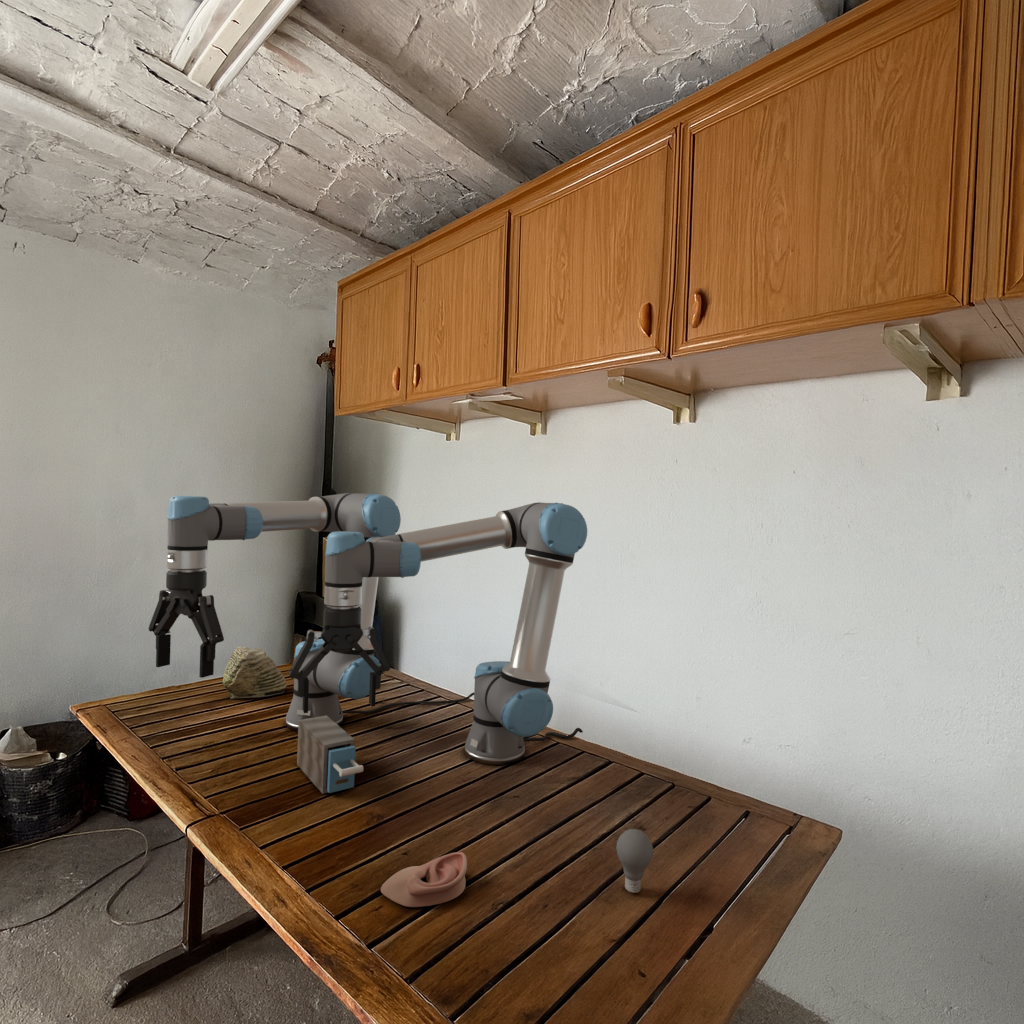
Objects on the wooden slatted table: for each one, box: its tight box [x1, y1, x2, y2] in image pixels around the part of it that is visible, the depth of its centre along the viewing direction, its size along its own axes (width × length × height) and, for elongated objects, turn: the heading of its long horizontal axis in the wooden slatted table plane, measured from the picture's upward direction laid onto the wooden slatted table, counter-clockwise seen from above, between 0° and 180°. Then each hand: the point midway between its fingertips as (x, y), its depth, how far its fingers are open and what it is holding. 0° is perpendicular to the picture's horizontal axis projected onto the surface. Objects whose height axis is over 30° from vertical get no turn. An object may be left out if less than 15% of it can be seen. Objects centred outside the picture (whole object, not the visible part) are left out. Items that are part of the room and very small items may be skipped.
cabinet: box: [296, 715, 355, 795], centre depth 144 cm, size 17×7×10 cm, turn 36°
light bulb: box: [615, 828, 654, 894], centre depth 106 cm, size 6×6×10 cm
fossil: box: [222, 646, 288, 699], centre depth 198 cm, size 9×18×15 cm, turn 132°
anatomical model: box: [380, 851, 468, 908], centre depth 104 cm, size 13×4×12 cm
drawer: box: [327, 744, 364, 794], centre depth 140 cm, size 22×6×9 cm, turn 36°
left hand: (184, 670), depth 133 cm, fingers open, 13 cm apart
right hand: (339, 707), depth 132 cm, fingers open, 13 cm apart
